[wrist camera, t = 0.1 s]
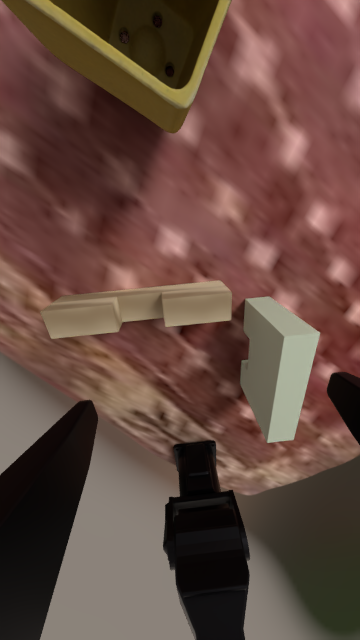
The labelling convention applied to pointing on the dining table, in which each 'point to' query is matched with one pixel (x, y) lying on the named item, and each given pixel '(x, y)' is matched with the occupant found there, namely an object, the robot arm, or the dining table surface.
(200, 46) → the flower pot
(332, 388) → the robot arm
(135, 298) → the birch rail
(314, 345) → the pale green plank
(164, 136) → the dining table surface
